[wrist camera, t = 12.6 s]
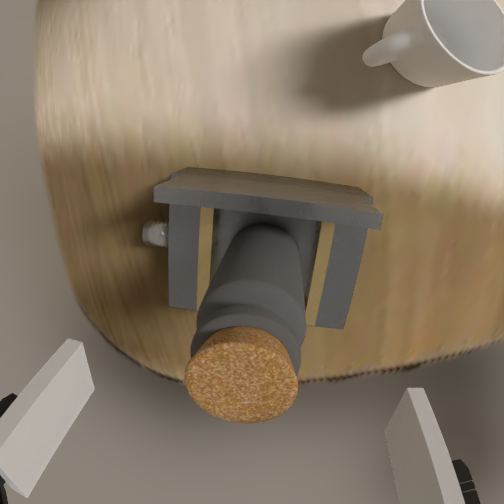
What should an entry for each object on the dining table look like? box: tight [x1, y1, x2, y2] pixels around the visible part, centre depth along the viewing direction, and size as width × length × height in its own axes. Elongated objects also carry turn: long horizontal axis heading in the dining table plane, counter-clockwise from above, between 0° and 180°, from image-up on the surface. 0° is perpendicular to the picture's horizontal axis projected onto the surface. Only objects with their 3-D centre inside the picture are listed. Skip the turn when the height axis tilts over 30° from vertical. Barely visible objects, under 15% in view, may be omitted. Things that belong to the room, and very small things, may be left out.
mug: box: [362, 0, 504, 87], centre depth 19 cm, size 12×8×10 cm
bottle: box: [185, 223, 306, 423], centre depth 19 cm, size 6×6×15 cm
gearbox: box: [142, 167, 383, 329], centre depth 26 cm, size 12×19×11 cm, turn 84°
